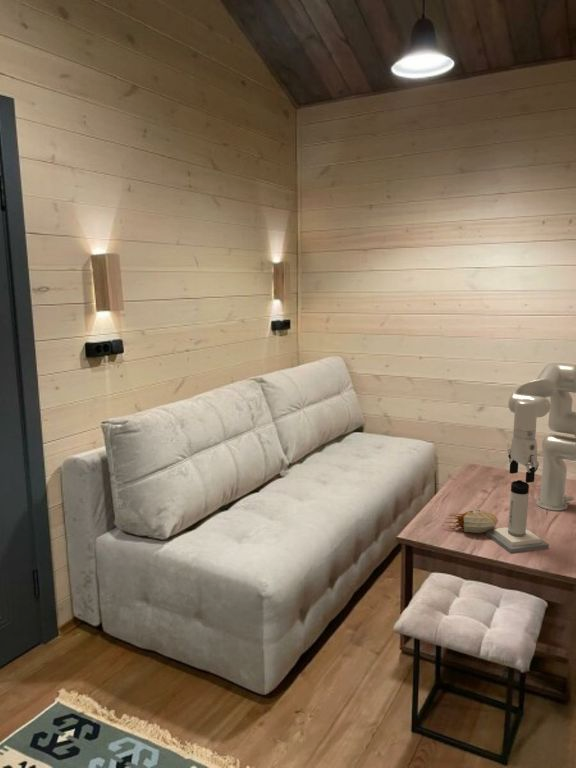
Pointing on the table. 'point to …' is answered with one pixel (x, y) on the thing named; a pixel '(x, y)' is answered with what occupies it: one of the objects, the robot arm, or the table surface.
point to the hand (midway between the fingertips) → (521, 477)
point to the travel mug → (518, 508)
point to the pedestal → (516, 540)
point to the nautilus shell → (475, 521)
